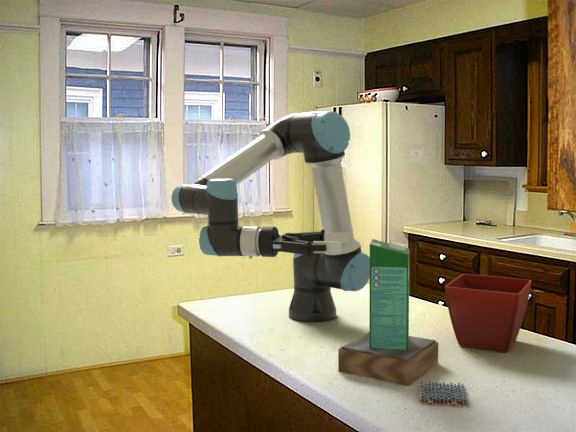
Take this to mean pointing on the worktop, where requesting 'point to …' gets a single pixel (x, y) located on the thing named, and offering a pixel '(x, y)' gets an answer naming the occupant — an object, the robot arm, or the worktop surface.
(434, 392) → the woven mat
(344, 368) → the podium
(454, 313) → the plant pot
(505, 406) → the worktop surface
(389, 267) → the milk carton
